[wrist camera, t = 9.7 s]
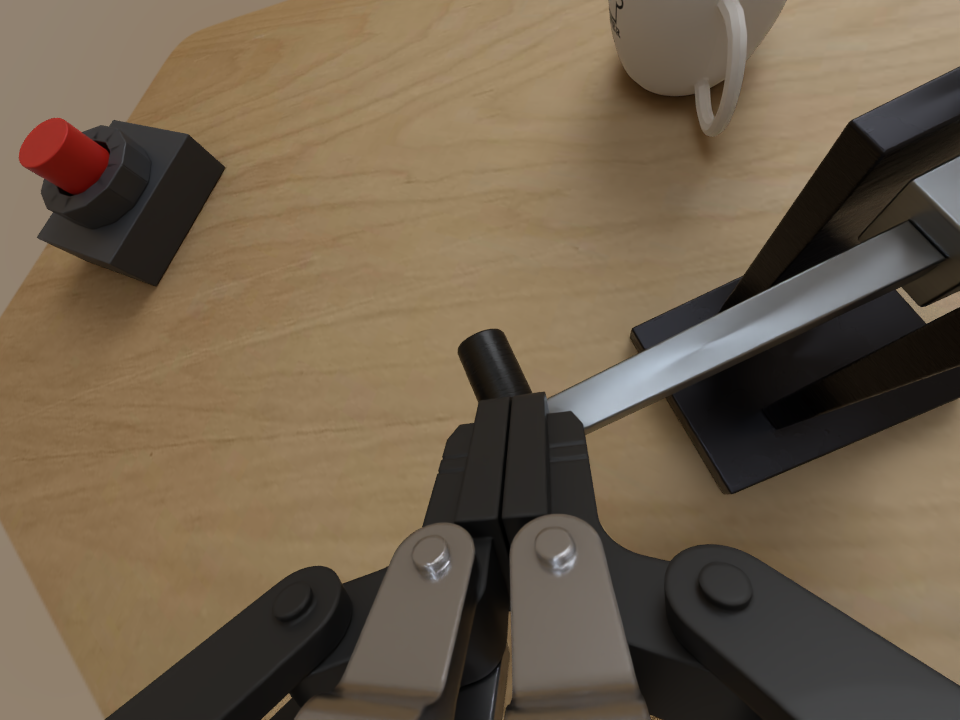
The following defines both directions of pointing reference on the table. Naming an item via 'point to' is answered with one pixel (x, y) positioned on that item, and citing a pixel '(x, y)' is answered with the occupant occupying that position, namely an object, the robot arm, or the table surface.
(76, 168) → the button
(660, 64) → the mug
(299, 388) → the table surface
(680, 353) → the lever
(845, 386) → the bracket
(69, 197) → the button block
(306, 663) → the robot arm
